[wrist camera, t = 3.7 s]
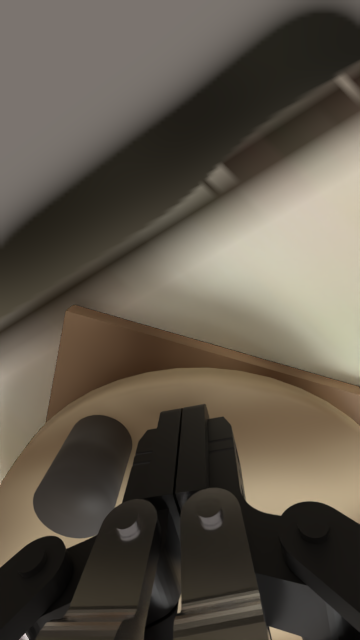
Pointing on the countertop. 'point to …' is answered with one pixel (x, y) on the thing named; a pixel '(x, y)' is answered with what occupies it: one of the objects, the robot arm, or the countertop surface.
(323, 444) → the handwheel
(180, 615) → the robot arm
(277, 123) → the countertop surface
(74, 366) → the mount
